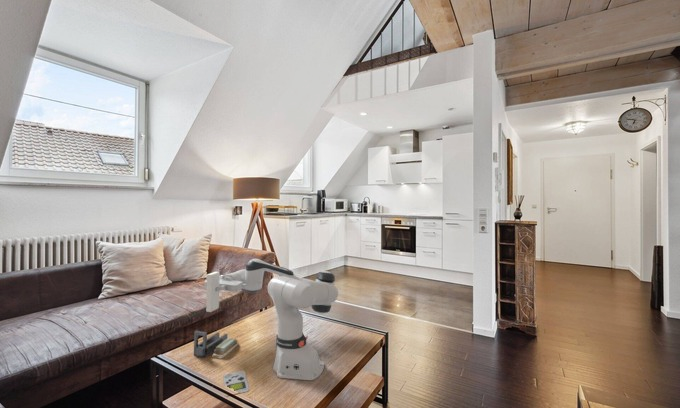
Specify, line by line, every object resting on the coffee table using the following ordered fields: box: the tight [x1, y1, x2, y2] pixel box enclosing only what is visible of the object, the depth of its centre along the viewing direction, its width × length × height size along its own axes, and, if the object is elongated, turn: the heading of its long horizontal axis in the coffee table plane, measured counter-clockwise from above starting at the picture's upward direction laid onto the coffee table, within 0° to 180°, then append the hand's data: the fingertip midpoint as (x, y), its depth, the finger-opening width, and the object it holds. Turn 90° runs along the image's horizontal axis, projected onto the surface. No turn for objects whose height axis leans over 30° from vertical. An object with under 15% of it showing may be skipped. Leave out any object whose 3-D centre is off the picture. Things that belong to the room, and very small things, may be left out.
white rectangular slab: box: [205, 271, 220, 313], centre depth 148 cm, size 2×6×18 cm, turn 163°
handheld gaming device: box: [222, 370, 250, 394], centre depth 121 cm, size 9×1×15 cm
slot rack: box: [193, 330, 228, 358], centre depth 148 cm, size 6×16×11 cm, turn 163°
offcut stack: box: [211, 337, 240, 360], centre depth 146 cm, size 5×14×4 cm, turn 167°
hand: (213, 289), depth 148 cm, fingers closed on white rectangular slab, 2 cm apart
